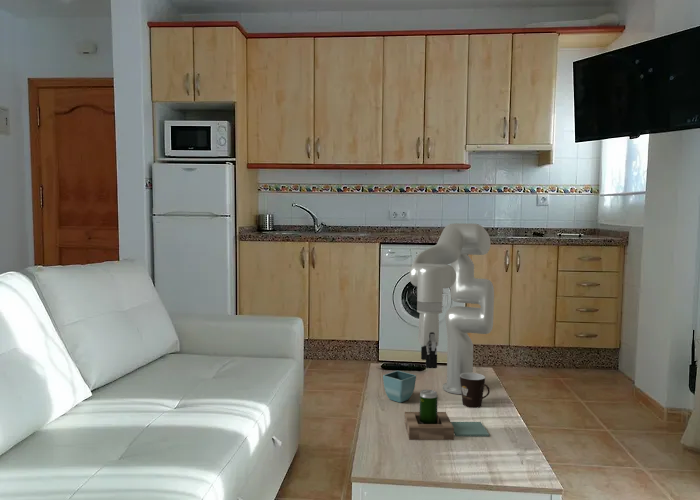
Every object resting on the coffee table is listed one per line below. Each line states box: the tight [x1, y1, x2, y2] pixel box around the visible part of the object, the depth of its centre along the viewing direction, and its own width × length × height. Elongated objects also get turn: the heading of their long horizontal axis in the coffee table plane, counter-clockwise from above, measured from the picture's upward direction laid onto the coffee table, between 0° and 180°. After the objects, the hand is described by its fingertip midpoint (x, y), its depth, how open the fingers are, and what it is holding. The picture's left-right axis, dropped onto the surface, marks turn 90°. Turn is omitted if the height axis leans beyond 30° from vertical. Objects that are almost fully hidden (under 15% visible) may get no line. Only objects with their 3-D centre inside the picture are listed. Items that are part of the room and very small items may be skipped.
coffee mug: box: [460, 372, 490, 409], centre depth 183 cm, size 12×9×10 cm
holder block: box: [403, 411, 455, 441], centre depth 161 cm, size 13×13×4 cm
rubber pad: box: [451, 421, 490, 437], centre depth 162 cm, size 10×10×1 cm
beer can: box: [418, 389, 439, 424], centre depth 161 cm, size 5×5×12 cm
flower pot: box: [382, 370, 417, 403], centre depth 189 cm, size 9×9×9 cm
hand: (428, 363), depth 160 cm, fingers open, 9 cm apart
